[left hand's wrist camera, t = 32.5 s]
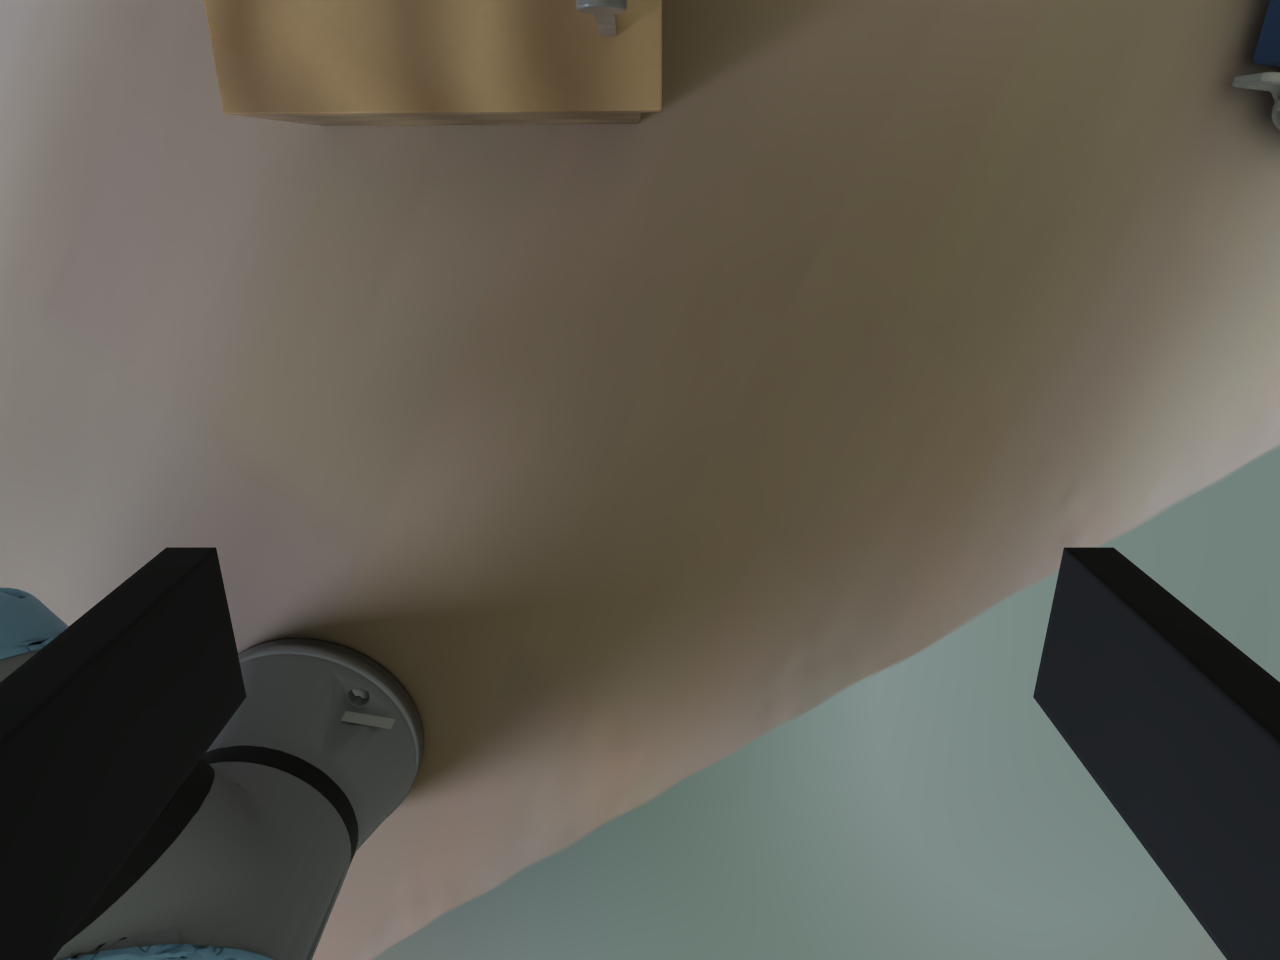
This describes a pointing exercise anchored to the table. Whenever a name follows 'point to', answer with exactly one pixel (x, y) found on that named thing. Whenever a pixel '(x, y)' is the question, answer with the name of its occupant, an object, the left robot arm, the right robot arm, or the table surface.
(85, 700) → the left robot arm
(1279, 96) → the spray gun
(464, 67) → the lid
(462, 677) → the table surface
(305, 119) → the chest
